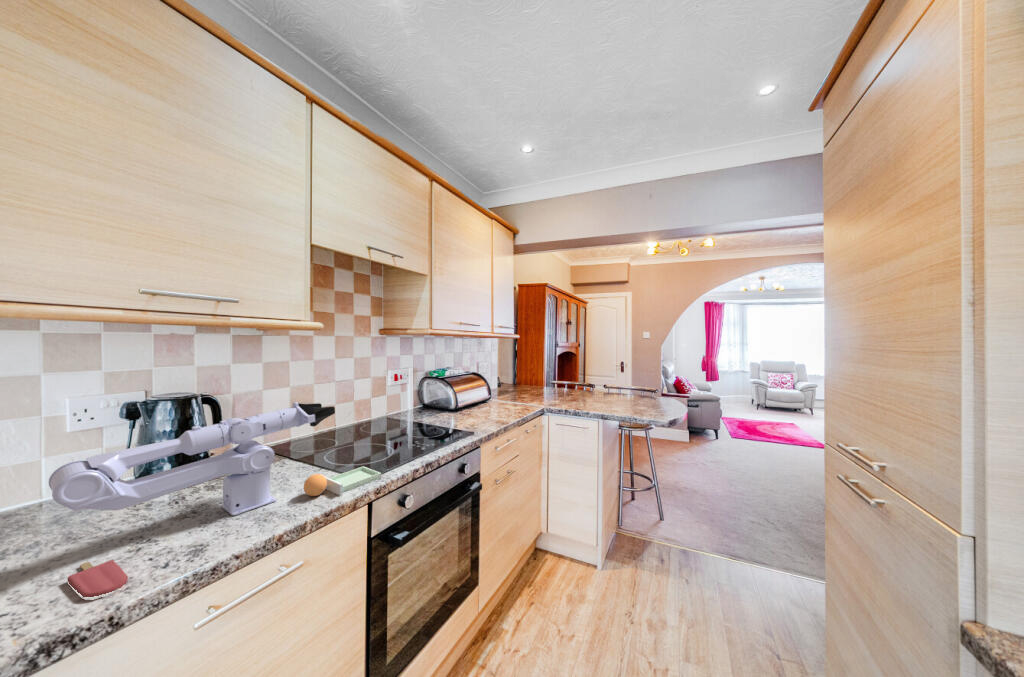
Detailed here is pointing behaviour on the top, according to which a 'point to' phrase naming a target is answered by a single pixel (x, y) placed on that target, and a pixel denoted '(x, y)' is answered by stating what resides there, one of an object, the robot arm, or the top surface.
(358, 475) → the tray
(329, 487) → the acrylic wall
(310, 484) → the ball
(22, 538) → the top surface
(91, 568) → the popsicle
